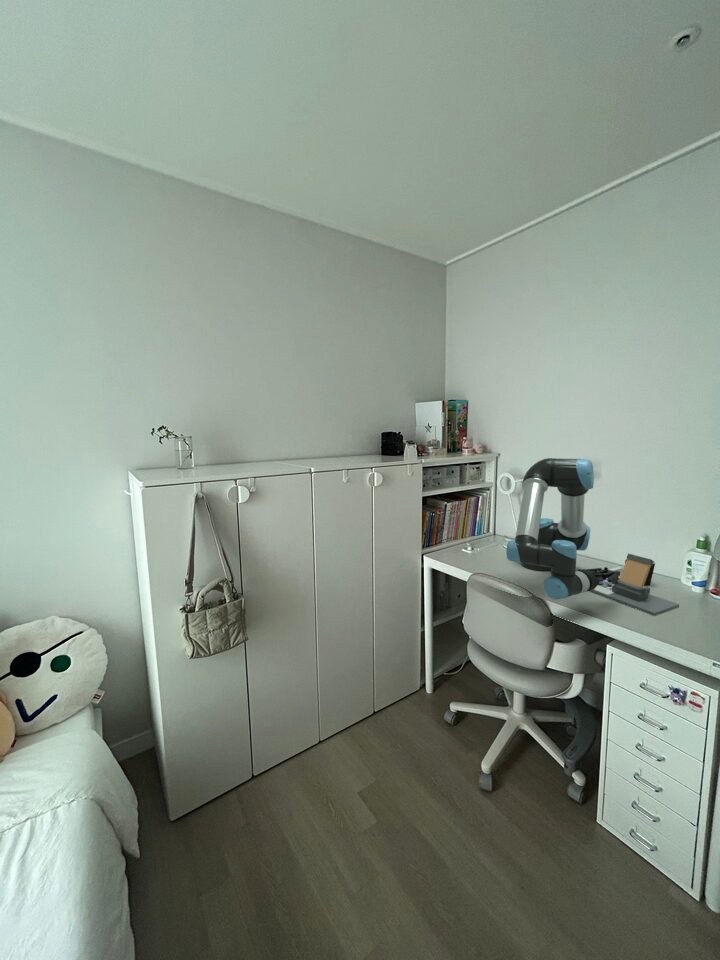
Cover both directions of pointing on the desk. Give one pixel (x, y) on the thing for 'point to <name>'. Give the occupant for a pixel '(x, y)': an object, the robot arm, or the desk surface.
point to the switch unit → (635, 598)
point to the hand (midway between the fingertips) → (620, 570)
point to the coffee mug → (649, 577)
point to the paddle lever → (635, 572)
